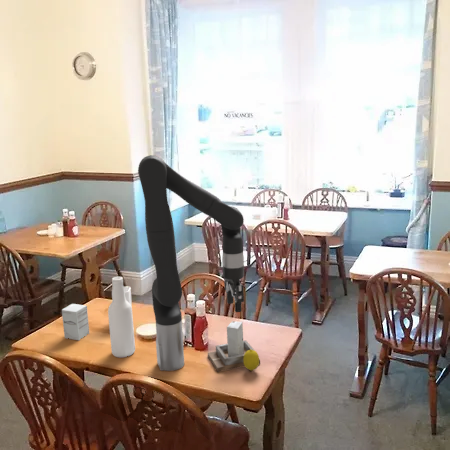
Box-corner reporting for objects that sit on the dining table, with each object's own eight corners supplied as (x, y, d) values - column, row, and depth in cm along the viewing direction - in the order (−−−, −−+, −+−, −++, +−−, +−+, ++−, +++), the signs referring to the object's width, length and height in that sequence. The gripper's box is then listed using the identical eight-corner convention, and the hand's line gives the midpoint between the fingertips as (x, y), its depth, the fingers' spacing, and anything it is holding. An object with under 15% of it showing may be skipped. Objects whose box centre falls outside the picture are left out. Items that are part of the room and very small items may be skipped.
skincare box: (239, 360, 185) (238, 328, 183) (227, 358, 187) (226, 327, 184) (244, 352, 191) (243, 321, 188) (232, 350, 192) (231, 320, 190)
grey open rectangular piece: (217, 371, 181) (217, 361, 180) (207, 356, 192) (207, 346, 191) (260, 363, 186) (260, 353, 185) (248, 348, 197) (248, 339, 196)
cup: (130, 324, 222) (128, 292, 218) (113, 325, 222) (110, 292, 218) (133, 318, 229) (131, 286, 225) (117, 318, 229) (114, 286, 225)
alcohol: (107, 356, 195) (100, 280, 188) (120, 345, 203) (113, 273, 196) (127, 359, 192) (121, 283, 184) (139, 349, 199) (133, 275, 192)
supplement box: (64, 338, 211) (60, 309, 208) (75, 331, 217) (72, 302, 214) (78, 341, 208) (75, 311, 205) (90, 333, 215) (87, 304, 212)
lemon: (242, 367, 183) (242, 346, 182) (258, 366, 184) (257, 345, 182) (244, 375, 178) (244, 353, 176) (260, 374, 178) (260, 352, 177)
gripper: (250, 268, 175) (251, 313, 179) (236, 257, 189) (237, 299, 192) (229, 271, 173) (230, 316, 177) (216, 259, 186) (218, 302, 190)
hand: (234, 307), depth 185 cm, fingers open, 8 cm apart
